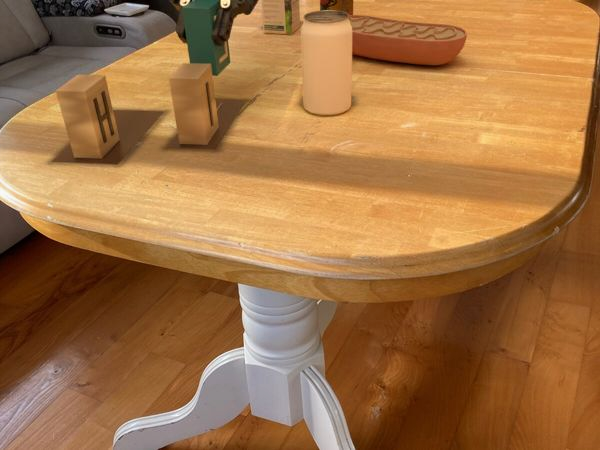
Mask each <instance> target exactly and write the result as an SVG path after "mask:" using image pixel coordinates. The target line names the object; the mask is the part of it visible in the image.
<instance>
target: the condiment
mask: <svg viewBox="0 0 600 450" xmlns="http://www.w3.org/2000/svg"><path fill="white" fill-rule="evenodd" d="M321 10H336V11H343V12H346V13H348V14H349V15H354V0H319V11H321Z"/></svg>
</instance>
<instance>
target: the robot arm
mask: <svg viewBox="0 0 600 450" xmlns="http://www.w3.org/2000/svg"><path fill="white" fill-rule="evenodd" d="M192 1H193V0H169V2H170V3H171V4H172V5H173V7H174V8H175V9H176V10H177V11H178V12H179V13H178V18H177V22H176V25H175V33H176V34H177V37H178V39H179V40H180V41H181V42H182V43H183V44H184V45H185V44H186V45H187V40H186V33H185V26H184V19H183V12H182V7H184V6H185V5H187V4H188V3H190V2H192ZM259 1H260V0H221V9H218V11H217V15H216V19H215V23H214V27H213V31H212V40H213V41H214V43H215V44H216V45H217V46H224V43H225V42H227V41H228V42H229V39H230V37H231V33H232V29H233V26H234V25H233V24H234V21H235V19H236V18H237V17H238V16H239V15H242V14H243V15H244V16H249V15H251V14H252V13H253V11H254V10H255V8H256V6H257V4H258V3H259Z"/></svg>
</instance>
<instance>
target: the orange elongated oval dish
mask: <svg viewBox="0 0 600 450" xmlns="http://www.w3.org/2000/svg"><path fill="white" fill-rule="evenodd" d="M348 19H349V22H350V24H351V26H352V55H355V56H359V57H364V58H369V59H374V60H380V61H387V62H391V63H392V62H394V63H401V64H402V63H403V64H412V65H420V66H421V65H422V66H423V65H424V66H433V67H435V66H442V65H445V64H447V63H450V62H451V61H453V60H454V59H455V58H457V56H458V55H459V54H460V53H461V52H462V50H463V49H464V47H465V45H466V41H467V36H468V32H467V30H466V29H464V28H462V27H460V26H458V25H457V26H456V25H452V24H445V23H431V22H430V23H428V22H418V21H417V22H416V21H408V20H407V21H406V20H399V19H393V18H392V19H391V18H384V17H377V16H371V15H364V14H353V15H349V18H348Z"/></svg>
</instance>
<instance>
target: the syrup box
mask: <svg viewBox="0 0 600 450" xmlns="http://www.w3.org/2000/svg"><path fill="white" fill-rule="evenodd" d="M260 2H261V17H262V19H261V20H262V32H263V34H277V35H288V36H289V35H290V36H292V34H293V33H295V32H296V31H297V30H298V29H299V28H301V13H300V12H301V11H300V9H301V8H300V0H261V1H260Z"/></svg>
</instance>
